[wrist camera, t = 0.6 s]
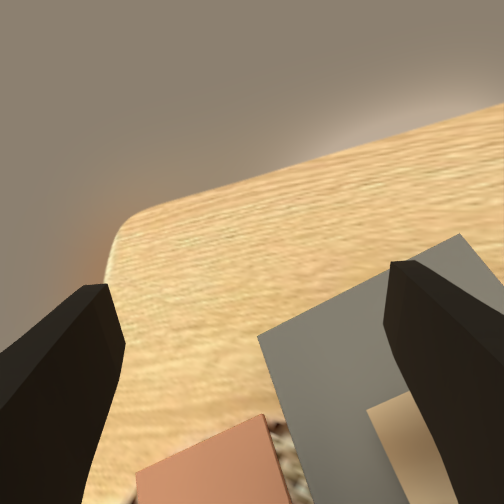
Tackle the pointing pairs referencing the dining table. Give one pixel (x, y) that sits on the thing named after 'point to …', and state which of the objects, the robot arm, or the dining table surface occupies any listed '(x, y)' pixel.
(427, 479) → the peg
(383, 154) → the dining table surface
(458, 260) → the pocket plate
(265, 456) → the mat
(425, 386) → the robot arm
